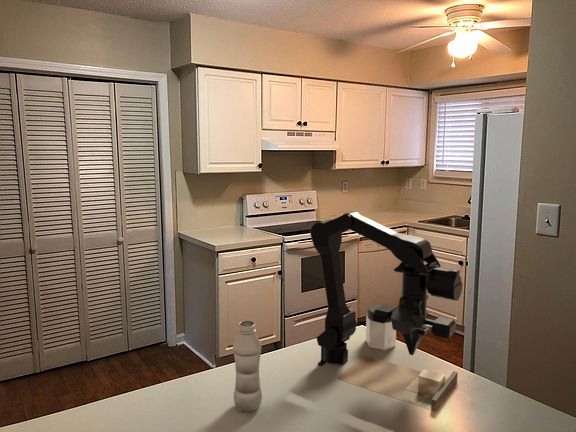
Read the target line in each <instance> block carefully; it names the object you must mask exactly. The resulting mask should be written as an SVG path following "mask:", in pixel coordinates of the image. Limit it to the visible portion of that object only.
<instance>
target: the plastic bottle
mask: <svg viewBox="0 0 576 432" xmlns="http://www.w3.org/2000/svg"><path fill="white" fill-rule="evenodd" d="M256 332H257V331H256V322H254V321H252V320H243V321H240V322H239V323H238V333H239V334H238V335H237V337H236V338H235V340H234V341H233V345H232V351H233V356H234V361H235V362H234V364H235V366H234V367H235V384H234V391H233V402H234V405H235V407H236V408H237V409H238V410H239V411H241V412H245V413H247V412H248V413H250V412H254V411H256V410H257V409H259V408H260V407H261V405H262V401H263V393H262V387H261V381H260V380H261V378H260V360H261V352H262V343H261V340H260V339H259V337H258V336H257V335H256Z"/></svg>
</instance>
